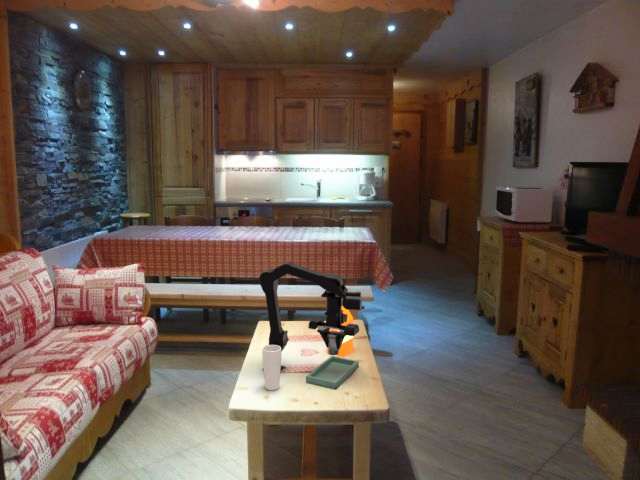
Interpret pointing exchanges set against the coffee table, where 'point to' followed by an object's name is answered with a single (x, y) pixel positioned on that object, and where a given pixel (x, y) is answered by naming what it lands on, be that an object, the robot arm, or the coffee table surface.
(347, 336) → the orange juice
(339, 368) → the tray
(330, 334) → the grey flanged cylinder
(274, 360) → the drinking glass
